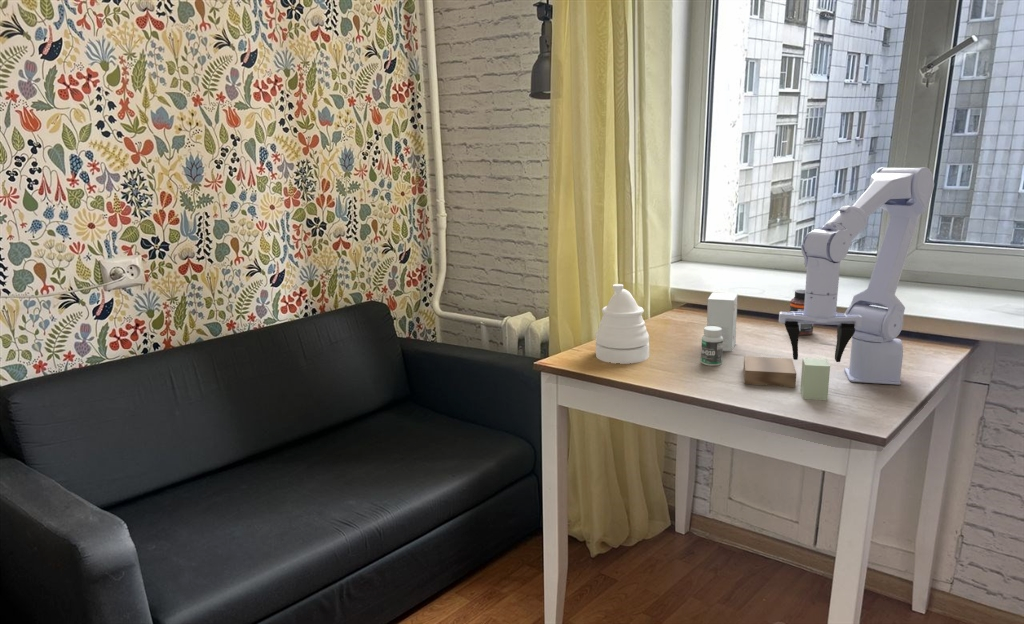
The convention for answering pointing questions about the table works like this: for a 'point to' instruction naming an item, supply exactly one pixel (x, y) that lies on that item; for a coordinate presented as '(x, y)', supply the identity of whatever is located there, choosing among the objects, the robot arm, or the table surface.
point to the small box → (723, 316)
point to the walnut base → (769, 371)
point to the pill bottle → (712, 346)
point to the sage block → (815, 378)
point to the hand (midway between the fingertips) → (816, 359)
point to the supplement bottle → (798, 305)
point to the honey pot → (622, 330)
